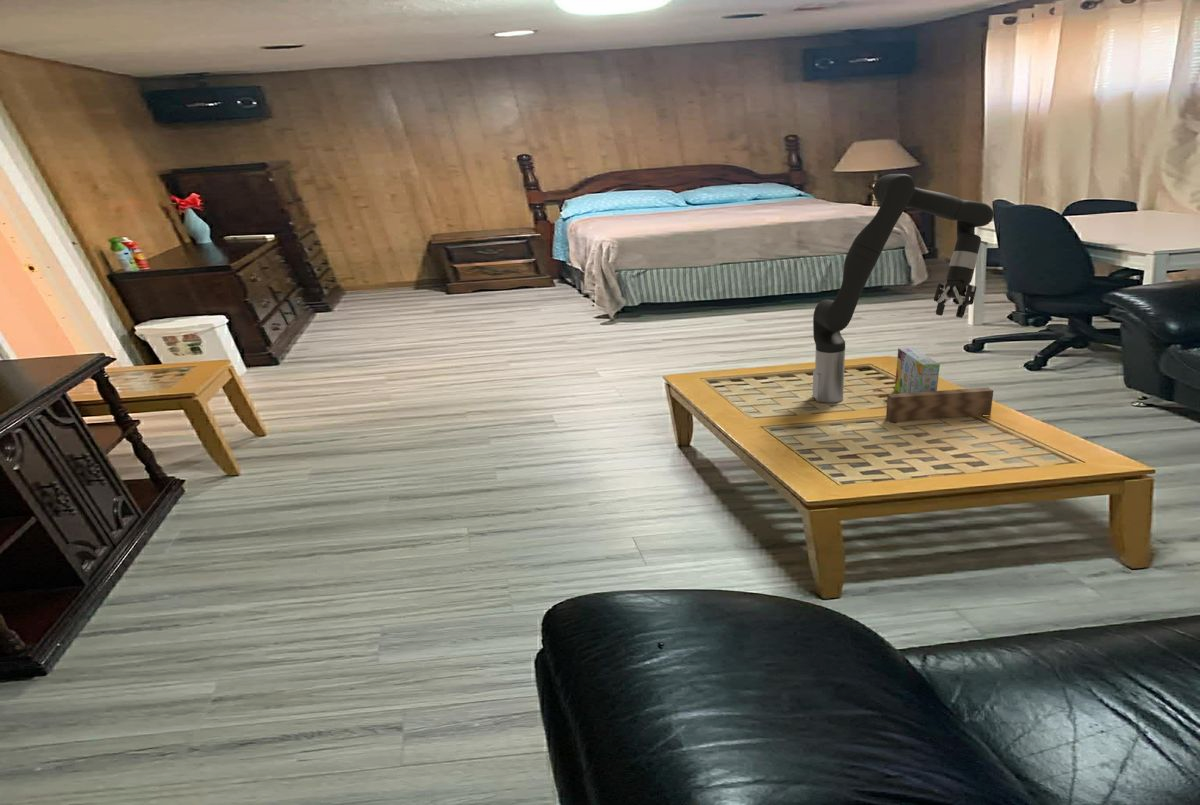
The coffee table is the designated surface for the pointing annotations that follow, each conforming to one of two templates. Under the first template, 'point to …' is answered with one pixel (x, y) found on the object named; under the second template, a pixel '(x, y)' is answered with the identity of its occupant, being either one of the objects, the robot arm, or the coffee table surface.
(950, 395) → the board
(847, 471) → the coffee table surface
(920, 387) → the snack box
